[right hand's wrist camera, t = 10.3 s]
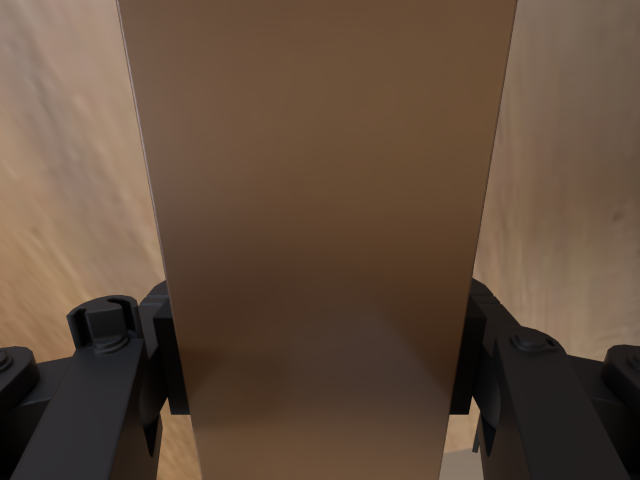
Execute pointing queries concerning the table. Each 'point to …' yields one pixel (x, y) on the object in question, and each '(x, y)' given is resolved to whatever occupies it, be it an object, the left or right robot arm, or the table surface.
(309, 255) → the beam
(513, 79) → the table surface
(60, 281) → the table surface
